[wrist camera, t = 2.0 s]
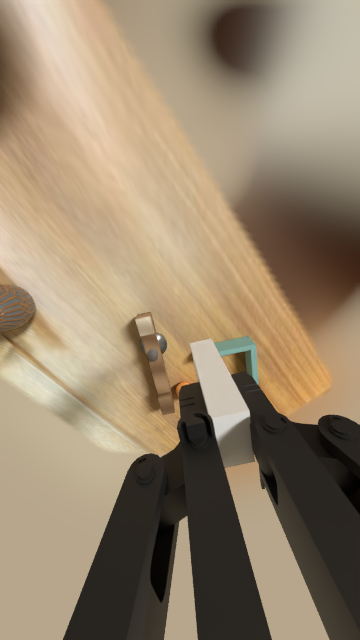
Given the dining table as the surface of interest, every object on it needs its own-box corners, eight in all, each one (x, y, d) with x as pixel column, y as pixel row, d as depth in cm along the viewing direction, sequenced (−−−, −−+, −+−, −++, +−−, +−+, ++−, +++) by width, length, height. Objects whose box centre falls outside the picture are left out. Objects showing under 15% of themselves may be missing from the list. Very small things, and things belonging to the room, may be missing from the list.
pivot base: (137, 335, 38) (137, 336, 38) (163, 330, 38) (163, 330, 38) (144, 357, 40) (144, 359, 39) (169, 352, 40) (169, 353, 39)
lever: (137, 313, 36) (134, 321, 32) (151, 310, 36) (149, 318, 32) (162, 400, 43) (162, 415, 39) (173, 398, 43) (174, 412, 39)
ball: (173, 380, 42) (174, 392, 39) (190, 377, 42) (192, 388, 39) (176, 394, 43) (178, 406, 40) (193, 390, 43) (195, 402, 40)
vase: (38, 326, 36) (1, 350, 28) (-5, 312, 34) (-58, 333, 26) (46, 291, 34) (9, 305, 26) (1, 274, 32) (-54, 284, 24)
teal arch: (196, 346, 40) (199, 355, 37) (248, 335, 40) (255, 344, 37) (205, 398, 44) (209, 410, 41) (252, 388, 44) (259, 399, 41)
